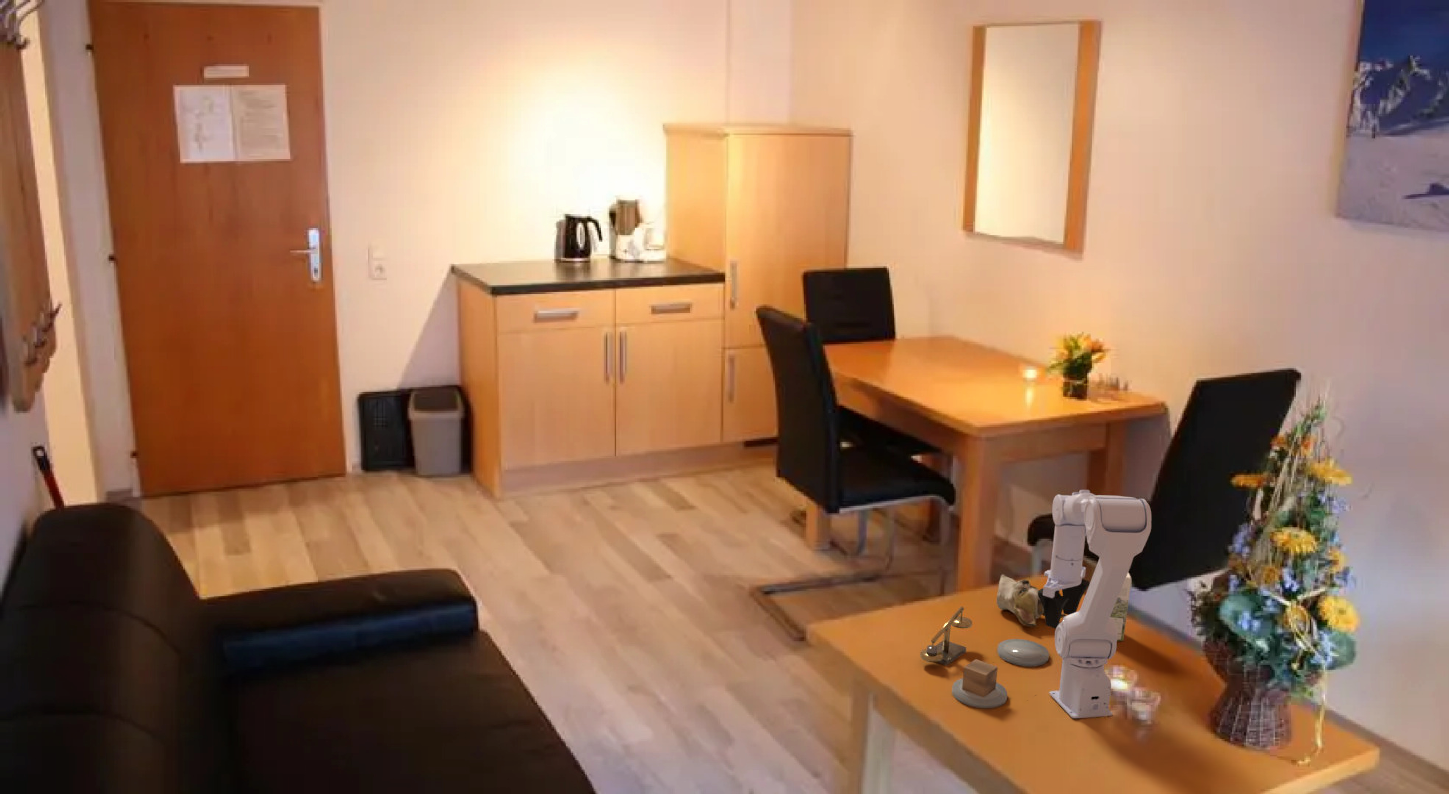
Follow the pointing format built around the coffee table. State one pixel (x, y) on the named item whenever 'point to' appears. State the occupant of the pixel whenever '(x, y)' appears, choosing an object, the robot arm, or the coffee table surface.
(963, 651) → the bronze balance
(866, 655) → the coffee table surface
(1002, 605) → the ceramic sculpture
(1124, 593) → the syrup box
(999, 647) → the right dish
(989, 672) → the walnut block
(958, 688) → the left dish
